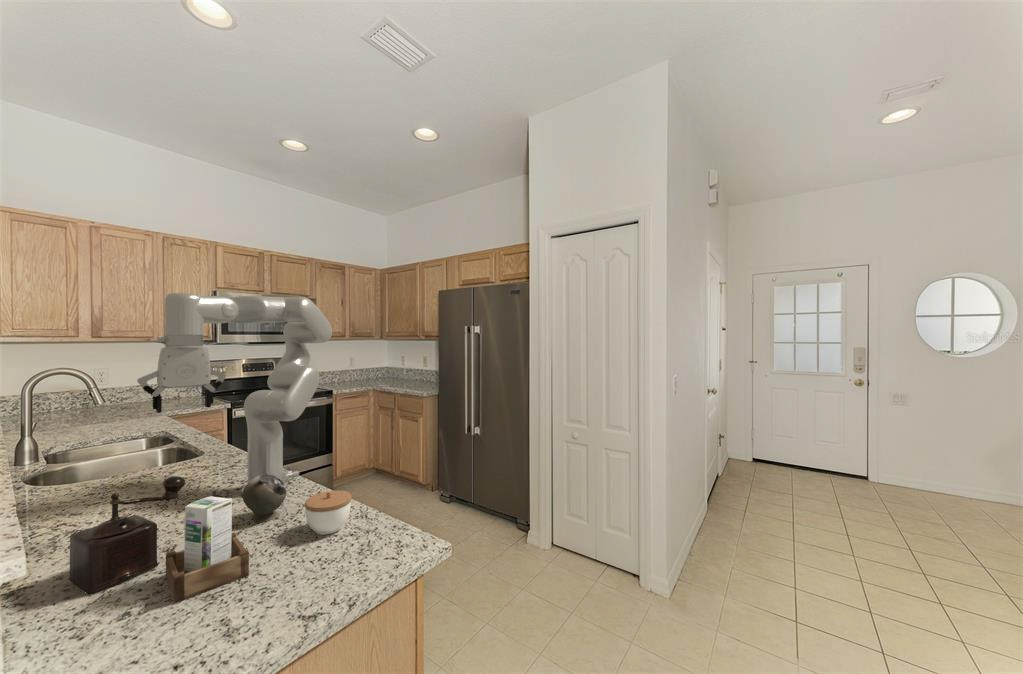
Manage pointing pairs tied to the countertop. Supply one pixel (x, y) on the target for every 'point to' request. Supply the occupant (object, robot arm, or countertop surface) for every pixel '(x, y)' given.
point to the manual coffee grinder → (117, 545)
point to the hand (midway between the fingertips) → (184, 409)
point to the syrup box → (207, 532)
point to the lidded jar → (328, 511)
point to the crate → (205, 572)
